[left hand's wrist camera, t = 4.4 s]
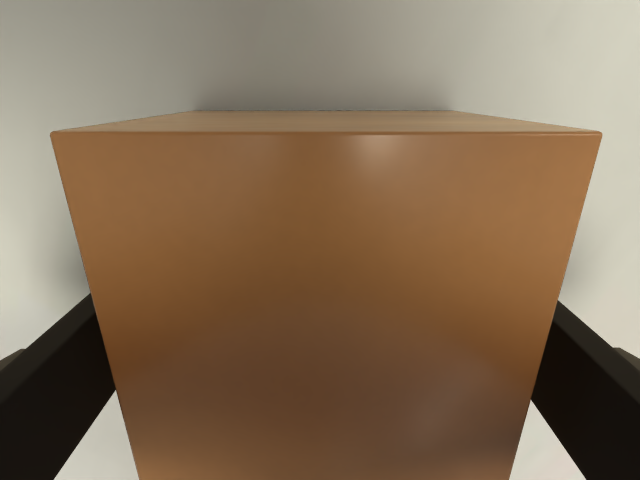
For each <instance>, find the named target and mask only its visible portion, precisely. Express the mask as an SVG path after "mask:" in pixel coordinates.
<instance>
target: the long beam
mask: <svg viewBox="0 0 640 480" xmlns="http://www.w3.org/2000/svg"><path fill="white" fill-rule="evenodd" d="M50 138H51V141H52V145H53V149H54V153H55V157H56V161H57V165H58V168H59V172H60V176H61V180H62V184H63V188H64V191H65V195H66V199H67V203H68V207H69V211H70V215H71V218H72V222H73V226H74V230H75V234H76V238H77V241H78V245H79V249H80V253H81V257H82V261H83V265H84V268H85V272H86V276H87V280H88V284H89V288H90V292H91V295H92V299H93V303H94V307H95V311H96V315H97V318H98V322H99V326H100V330H101V334H102V338H103V342H104V345H105V349H106V353H107V357H108V361H109V365H110V369H111V372H112V376H113V380H114V384H115V388H116V392H117V395H118V399H119V403H120V407H121V411H122V415H123V419H124V422H125V426H126V430H127V434H128V438H129V442H130V445H131V449H132V453H133V457H134V461H135V465H136V469H137V472H138V476H139V480H509V477H510V474H511V470H512V466H513V463H514V459H515V455H516V452H517V448H518V444H519V441H520V437H521V433H522V430H523V426H524V422H525V418H526V415H527V411H528V407H529V404H530V400H531V396H532V393H533V389H534V385H535V382H536V378H537V374H538V371H539V367H540V363H541V360H542V356H543V352H544V348H545V345H546V341H547V337H548V334H549V330H550V326H551V323H552V319H553V315H554V312H555V308H556V304H557V301H558V297H559V293H560V290H561V286H562V282H563V278H564V275H565V271H566V267H567V264H568V260H569V256H570V253H571V249H572V245H573V242H574V238H575V234H576V231H577V227H578V223H579V220H580V216H581V212H582V209H583V205H584V201H585V197H586V194H587V190H588V186H589V183H590V179H591V175H592V172H593V168H594V164H595V161H596V157H597V153H598V150H599V146H600V142H601V139H602V133H601V132H599V131H594V130H587V129H579V128H572V127H565V126H558V125H551V124H544V123H537V122H529V121H522V120H515V119H508V118H501V117H494V116H487V115H479V114H472V113H465V112H458V111H188V112H181V113H175V114H168V115H161V116H154V117H147V118H140V119H134V120H127V121H120V122H113V123H106V124H99V125H93V126H86V127H79V128H72V129H65V130H58V131H53V132H51V133H50Z"/></svg>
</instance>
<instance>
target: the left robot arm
mask: <svg viewBox="0 0 640 480" xmlns="http://www.w3.org/2000/svg"><path fill="white" fill-rule="evenodd" d="M115 390H116V388H115V384H114V380H113V376H112V372H111V369H110V365H109V361H108V357H107V353H106V349H105V345H104V342H103V338H102V334H101V330H100V326H99V322H98V318H97V315H96V311H95V307H94V303H93V299H92V295H91V293H90V294H89V295H88V296H86V297H85V298H84V299H83V300H82V301H81V302H80V303H78V304H77V305H76V306H75V307H74V308H73V309H71V310H70V311H69V312H68V313H67V314H66V315H65V316H63V317H62V318H61V319H60V320H59V321H58V322H56V323H55V324H54V325H53V326H52V327H51V328H49V329H48V330H47V331H46V332H45V333H44V334H43V335H41V336H40V337H39V338H38V339H37V340H36V341H34V342H33V343H32V344H31V345H30V346H29V347H28V348H26V349H20V350H18V351H16V352H15V353H13V354H11V355H9V356H7V357H6V358H4V359H2V360H0V480H54V478H55V477H56V475H57V474H58V473H59V471H60V470H61V468H62V467H63V465H64V464H65V462H66V461H67V459H68V458H69V457H70V455H71V454H72V452H73V451H74V449H75V448H76V446H77V445H78V444H79V442H80V441H81V439H82V438H83V436H84V435H85V433H86V432H87V431H88V429H89V428H90V426H91V425H92V423H93V422H94V420H95V419H96V418H97V416H98V415H99V413H100V412H101V410H102V409H103V407H104V406H105V405H106V403H107V402H108V400H109V399H110V397H111V396H112V394H113V393H114V392H115ZM531 400H532V402H533V403H534V405H535V406H536V407H537V409H538V410H539V412H540V413H541V415H542V416H543V418H544V419H545V420H546V422H547V423H548V425H549V426H550V428H551V429H552V431H553V432H554V433H555V435H556V436H557V438H558V439H559V441H560V442H561V444H562V445H563V446H564V448H565V449H566V451H567V452H568V454H569V455H570V457H571V458H572V459H573V461H574V462H575V464H576V465H577V467H578V468H579V470H580V471H581V472H582V474H583V475H584V477H585V478H586V480H640V359H639V358H637V357H635V356H634V355H632V354H630V353H628V352H626V351H624V350H623V349H621V348H612V347H611V346H610V345H609V344H608V343H607V342H606V341H604V340H603V339H602V338H601V337H600V336H599V335H597V334H596V333H595V332H594V331H593V330H592V329H591V328H589V327H588V326H587V325H586V324H585V323H584V322H582V321H581V320H580V319H579V318H578V317H577V316H575V315H574V314H573V313H572V312H571V311H570V310H569V309H567V308H566V307H565V306H564V305H563V304H562V303H560V302H559V301H557V304H556V308H555V312H554V315H553V319H552V323H551V326H550V330H549V334H548V337H547V341H546V345H545V348H544V352H543V356H542V360H541V363H540V367H539V371H538V374H537V378H536V382H535V385H534V389H533V393H532V396H531Z"/></svg>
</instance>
